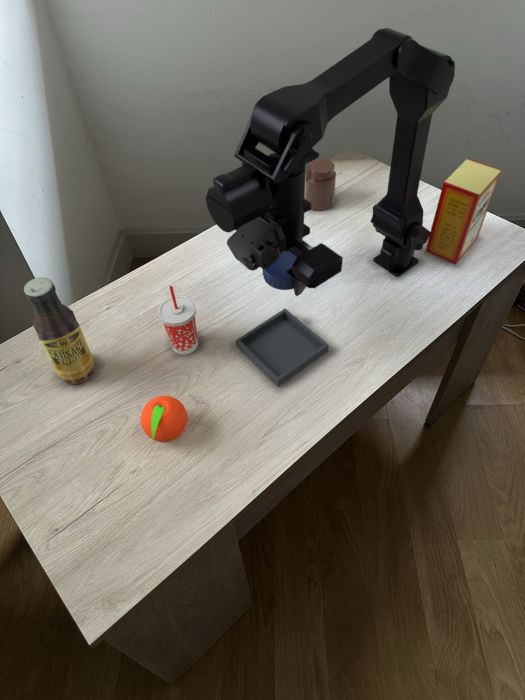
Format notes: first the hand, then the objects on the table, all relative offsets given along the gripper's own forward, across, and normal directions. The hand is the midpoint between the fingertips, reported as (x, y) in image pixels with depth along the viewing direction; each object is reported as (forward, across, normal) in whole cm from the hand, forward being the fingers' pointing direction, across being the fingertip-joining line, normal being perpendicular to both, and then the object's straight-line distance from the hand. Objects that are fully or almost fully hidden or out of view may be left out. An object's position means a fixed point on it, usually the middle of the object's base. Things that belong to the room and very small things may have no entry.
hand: (283, 282), depth 81 cm
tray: (+13, +2, -2) cm, 13 cm away
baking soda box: (+13, +4, +41) cm, 43 cm away
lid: (-3, 0, 0) cm, 3 cm away
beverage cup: (+13, -10, -14) cm, 22 cm away
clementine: (+13, +3, -26) cm, 30 cm away
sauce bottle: (+13, -17, -31) cm, 38 cm away
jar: (+13, -24, +31) cm, 42 cm away
